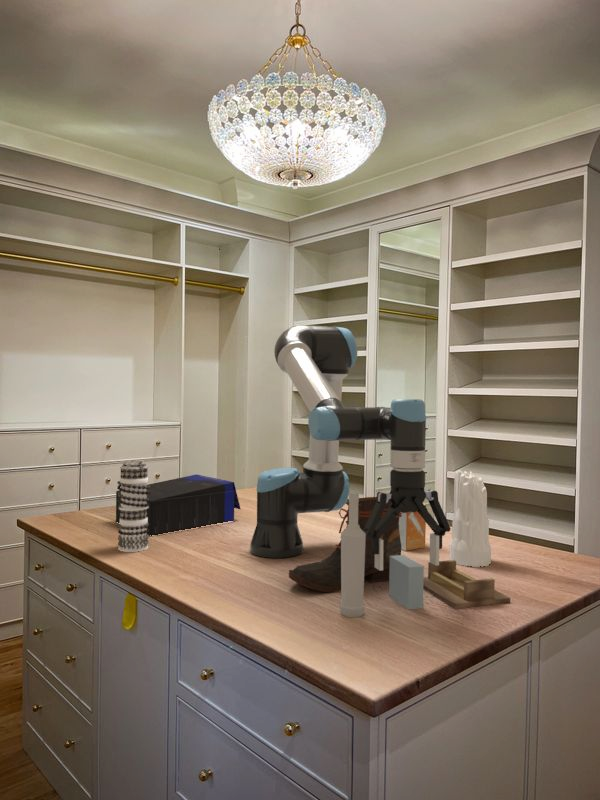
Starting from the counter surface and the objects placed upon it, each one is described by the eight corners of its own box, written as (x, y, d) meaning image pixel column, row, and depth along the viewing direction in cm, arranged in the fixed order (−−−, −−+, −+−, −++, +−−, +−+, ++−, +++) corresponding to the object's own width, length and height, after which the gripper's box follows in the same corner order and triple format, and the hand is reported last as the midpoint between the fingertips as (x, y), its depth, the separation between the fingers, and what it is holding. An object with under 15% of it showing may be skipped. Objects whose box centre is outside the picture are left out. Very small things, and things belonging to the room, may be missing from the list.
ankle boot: (278, 583, 142) (279, 499, 142) (384, 567, 156) (385, 491, 156) (299, 598, 132) (301, 508, 132) (411, 579, 146) (412, 498, 146)
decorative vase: (491, 558, 166) (492, 468, 165) (490, 569, 156) (492, 473, 155) (451, 554, 169) (452, 466, 169) (447, 564, 159) (449, 471, 159)
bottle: (338, 608, 126) (339, 490, 125) (362, 608, 126) (363, 490, 126) (341, 617, 121) (343, 494, 120) (366, 617, 121) (368, 494, 121)
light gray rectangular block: (408, 609, 126) (409, 567, 126) (389, 595, 134) (389, 556, 134) (423, 608, 127) (423, 566, 127) (402, 594, 135) (403, 554, 135)
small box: (405, 551, 172) (406, 506, 172) (391, 546, 177) (391, 503, 177) (426, 547, 176) (426, 503, 176) (410, 543, 182) (411, 500, 181)
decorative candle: (110, 548, 171) (111, 461, 171) (138, 542, 178) (139, 459, 177) (127, 554, 165) (128, 464, 164) (156, 548, 172) (156, 461, 171)
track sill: (455, 608, 126) (455, 585, 126) (413, 582, 143) (413, 562, 143) (510, 602, 131) (510, 579, 131) (463, 577, 148) (463, 557, 148)
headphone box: (241, 521, 209) (241, 481, 209) (150, 537, 185) (151, 491, 185) (202, 510, 227) (202, 473, 227) (115, 523, 204) (116, 481, 203)
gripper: (362, 473, 123) (361, 576, 123) (466, 469, 130) (466, 566, 130) (348, 469, 130) (347, 566, 130) (448, 465, 138) (447, 557, 138)
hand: (407, 566), depth 130 cm, fingers open, 13 cm apart
